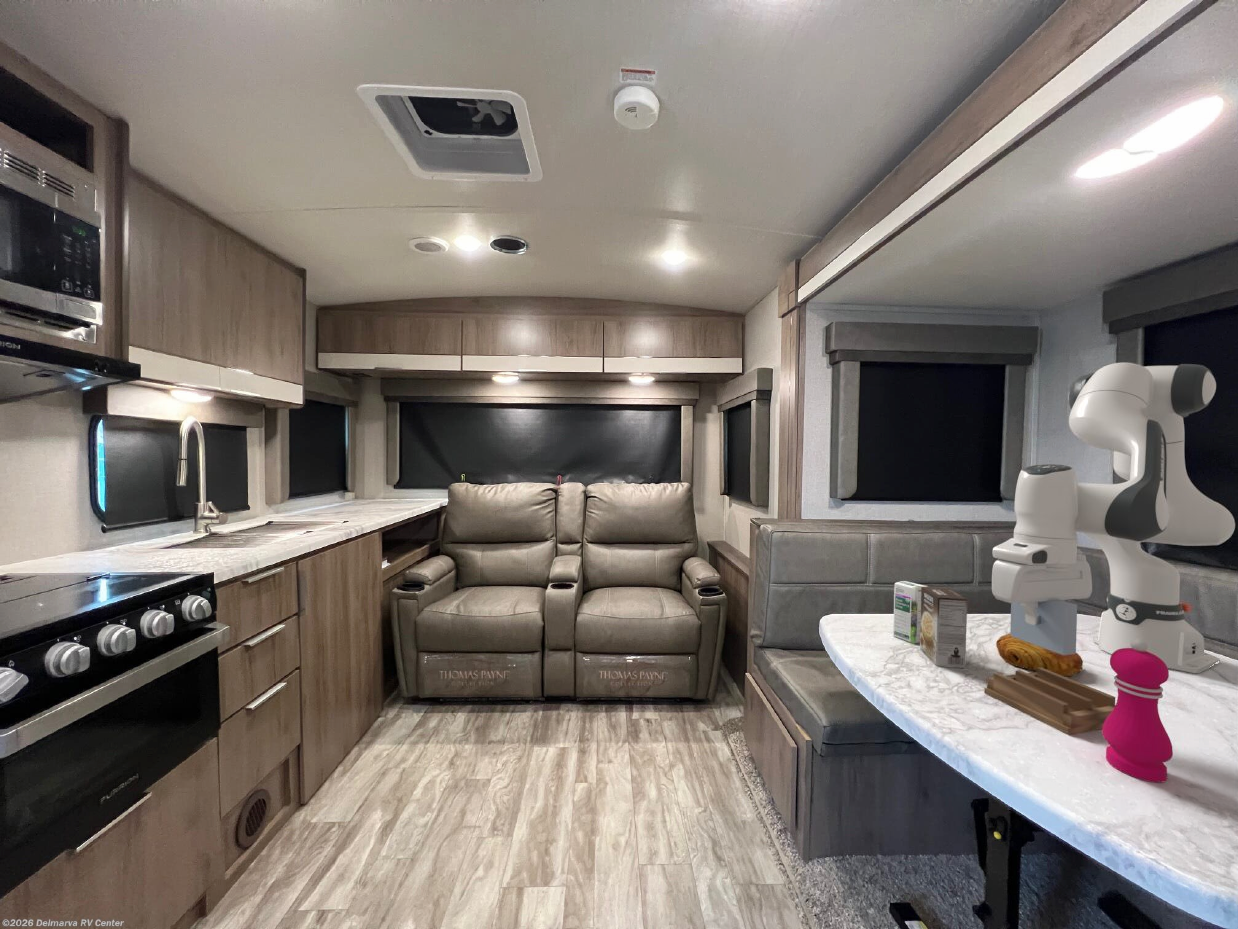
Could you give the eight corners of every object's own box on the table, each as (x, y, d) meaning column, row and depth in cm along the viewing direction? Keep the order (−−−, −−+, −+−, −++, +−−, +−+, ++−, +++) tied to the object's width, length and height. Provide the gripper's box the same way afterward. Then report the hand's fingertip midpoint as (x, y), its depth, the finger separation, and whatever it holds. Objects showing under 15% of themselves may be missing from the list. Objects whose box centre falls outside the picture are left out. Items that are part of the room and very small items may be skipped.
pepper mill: (1088, 754, 74) (1091, 631, 74) (1128, 752, 75) (1132, 630, 74) (1142, 786, 67) (1147, 650, 67) (1186, 784, 67) (1191, 649, 67)
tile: (1021, 635, 92) (1023, 590, 92) (1075, 653, 83) (1077, 604, 83) (1010, 636, 91) (1011, 591, 91) (1063, 655, 82) (1064, 605, 82)
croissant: (984, 664, 112) (980, 632, 112) (1027, 647, 116) (1024, 617, 116) (1055, 691, 98) (1052, 655, 98) (1101, 672, 103) (1098, 637, 102)
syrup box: (892, 636, 123) (893, 582, 122) (905, 632, 125) (906, 580, 125) (914, 644, 118) (915, 588, 117) (927, 640, 120) (928, 585, 120)
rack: (1036, 685, 97) (1037, 664, 96) (1126, 724, 83) (1126, 700, 82) (984, 692, 93) (984, 671, 93) (1067, 734, 79) (1068, 709, 79)
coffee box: (918, 649, 114) (919, 585, 114) (947, 652, 113) (948, 587, 113) (935, 666, 105) (937, 596, 105) (967, 669, 104) (969, 598, 104)
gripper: (1065, 545, 92) (1063, 613, 92) (985, 548, 88) (983, 620, 88) (1105, 551, 86) (1102, 625, 86) (1021, 555, 81) (1018, 633, 82)
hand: (1041, 623), depth 87 cm, fingers closed on tile, 3 cm apart
